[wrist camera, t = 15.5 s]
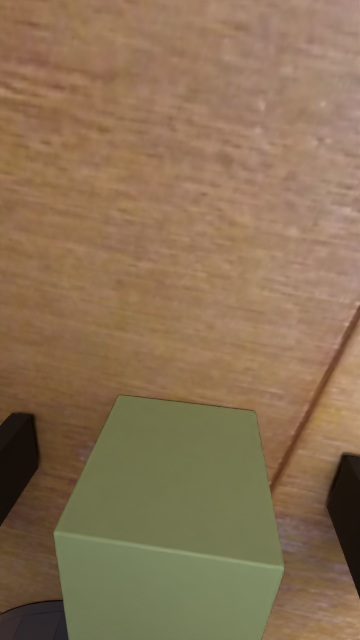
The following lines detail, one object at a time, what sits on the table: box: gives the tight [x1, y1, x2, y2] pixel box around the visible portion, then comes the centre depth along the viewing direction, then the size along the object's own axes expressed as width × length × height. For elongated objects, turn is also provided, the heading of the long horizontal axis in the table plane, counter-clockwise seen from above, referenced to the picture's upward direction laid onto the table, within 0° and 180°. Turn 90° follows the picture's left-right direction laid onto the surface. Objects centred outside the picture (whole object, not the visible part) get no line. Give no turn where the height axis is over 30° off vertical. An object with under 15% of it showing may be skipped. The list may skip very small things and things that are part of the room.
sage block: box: [53, 395, 285, 640], centre depth 10 cm, size 5×5×5 cm
